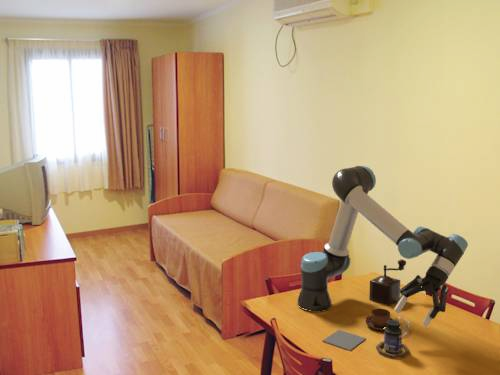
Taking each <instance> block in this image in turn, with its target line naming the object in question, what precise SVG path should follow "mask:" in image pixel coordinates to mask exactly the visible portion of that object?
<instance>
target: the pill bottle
mask: <svg viewBox="0 0 500 375" xmlns="http://www.w3.org/2000/svg"><path fill="white" fill-rule="evenodd" d="M383 338H384V340H383V341H384V345H383V348H384V352H386V353H389V354H402V349H403V348H402V344H403V343H402V342H403V341H402V340H403V330H402V329H401V322H400V321H398V320H395V319H393V320H389V321H387V327H386V328H385V330H384V337H383Z"/></svg>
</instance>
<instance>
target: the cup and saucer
mask: <svg viewBox="0 0 500 375" xmlns="http://www.w3.org/2000/svg"><path fill="white" fill-rule="evenodd" d="M389 320H394V319H393V318H391V311H390V310H387V309H385V308H374V309H372V310H371V314H369V315H367V316H366V318H365V324H366V325H367V326H368V327H369V328H371V329H373V330H376V331H385V329H383V328H384V327H387V321H389Z"/></svg>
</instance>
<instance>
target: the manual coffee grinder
mask: <svg viewBox="0 0 500 375" xmlns="http://www.w3.org/2000/svg"><path fill="white" fill-rule="evenodd" d="M397 264H398V267H397V268H392V267H389V268H387V267H388V266H387V264H384V265H383V275H380V276H377V277H375V278H373V279H371V280H369V301H371V302H374V303H378V304H382V305H385V306H391V305H393V304H395V303H398V300H399V298H400V297H401V293H400V292H399V290H400V289H401V279H398V278H393V277H391V276H389V275H387V271H404V270H405V266H406V264H407V261H406V260H404V259H398V261H397Z"/></svg>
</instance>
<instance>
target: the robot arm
mask: <svg viewBox="0 0 500 375" xmlns="http://www.w3.org/2000/svg"><path fill="white" fill-rule="evenodd" d="M376 180H377V179H376V174H374V171H373V170H372V169H371V168H370V167H367V166H365V165H356V166H354V167H347V168H342V169H340V170H337V172H336V173H335V174H334V175H333V177H332V182H331V185H332V190H333V192H334V193H335V195H336V196H337V197H338V198H339V199H340V204H339V206H338V211H337V214H336V217H335V221H334V224H333V227H332V231H331V235H330V237H329V241H328V242H326V243H325V244H324V246H323V249H322V252H321V251H313V252H308V253H306V254H304V255H303V256H302V257H301V261H300V262H301V264H300V270H301V271H300V273H301V278H300V279H301V281H300V282H301V286H300V287H301V289H300V292H299V295H298V298H297V306H298V305H299V306H300V307H301V308H304V309H307V310H311V311H320V312H324V311H323V310H325V311H328V310H329V308H330V309H331V308H332V299H331V296H330V293H329V289H328V281H329V279H331V278H334V277H337V276H339V275H342V274H343V273H345V272H346V271H347V270H348V269H349V267H350V265H351V257H350V250H349V248H348V247H349V244H350V239H351V236H352V233H353V230H354V227H355V224H356V221H357V218H358V214H361V215H362V216H363V217H364V218H365V219H366V220H367V221H369V222H370V224H372V225H373V226H374V227H375V228H377V230H379V231H380V232H381V233H382V234H383V235H385V236H386V237H387V238H388V240H389V239H390V241H391V242H393V244H395V245H396V246H397V250H398V252H399V255H400V256H401V257H403V258H405V259H407V260H409V259H414V258H417V257H419V256H420V255H423V254H424V253H427V252H429V251H430V252H431V253H433V254H436V257H435V258H434V259H433V261H432V263H431V265H430V266H429V267H428V269H427V271H426V272H425V276H424V277H421V275H420V274H417V275H415V278H414V279H412V280H411V281H410V282H408V283H406V284H405V285H404V286H403V287H402V288H401V287H400V290H399V292H400V298H399V300H398V301H397V304H396V305H395V306H394V308H393V310H394V311H395V312H396V314H400V312H401V311H402V309H403V308H404V306H405V305H406V304H407V302H408V300H409V298H410V297H412V296H414V295H416V294H418V293H420V292H425V293H429V294H430V295H431V296H432V302H433V306H432V307H430V308H429V310H428V312H427V313H426V315H425V317H424V318H423V320H422V324H423V325H424V326H425V327H428V326H429V325H430V323H431V322H432V320H434V319H435V318H436V317H437V315H438V313H439V312H442V313H445V312H446V308H447V298H448V292H449V290H450V288H449V287H448V286H447V284H445V283H447V281H448V279H449V276H451V274H452V272H453V271H454V269H455V267H456V266H457V265H458V264H459V262H460V260H461V258H462V257H463V255H464V253H465V251H466V250H467V248H468V246H469V244H468V241H467V240H466V239H465V238H464V237H462V236H461V235H459V234H456V233H452V234H450V235H448V237H447V236H445V235H442V234H440V233H438V232H436V231H434V230H432V229H430V228H428V227H424V226H418V227H416V229H415V230H414V231H413V232H412V231H411V230H410V229H409V228H407V227H406V226H405V225H404V224H403V223H402V222H400V221H399V220H398V219H397V218H395V217H394V216H393V215H392V214H391V213H390V212H388V211H387V210H386V209H385V208H384V207H383V206H382V205H380V204H379V203H378V202H376V200H374V199H373V198H372V197H371V196H370V195H369V192H371V191H372V190H373V189H374V188H375V186H376V183H377V182H376ZM439 291H440V292H439ZM439 293H440V295H439ZM301 308H300V309H301ZM311 311H310V312H311Z"/></svg>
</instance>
